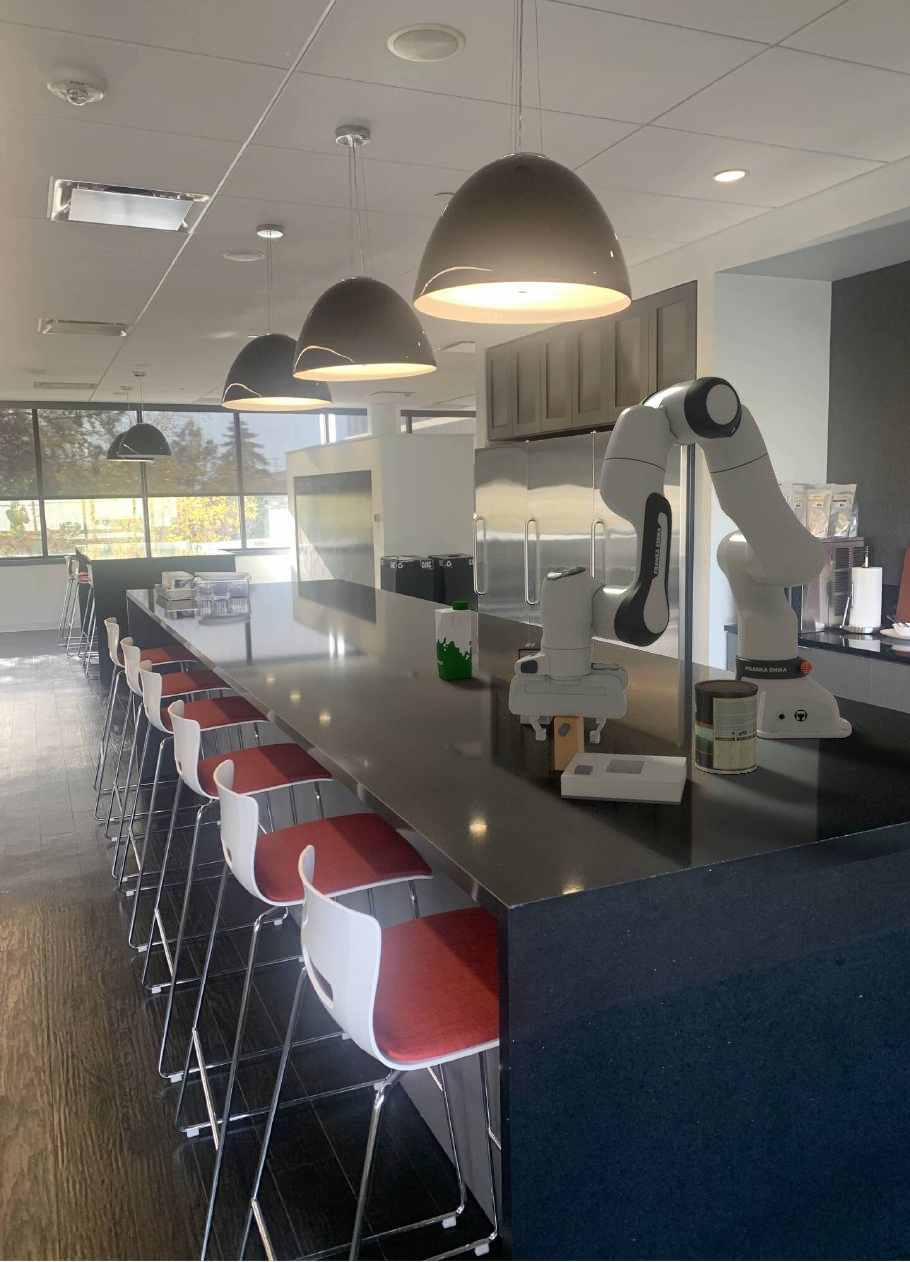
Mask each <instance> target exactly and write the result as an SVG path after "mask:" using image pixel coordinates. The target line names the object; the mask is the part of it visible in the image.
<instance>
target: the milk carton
mask: <svg viewBox="0 0 910 1262" xmlns="http://www.w3.org/2000/svg"><path fill="white" fill-rule="evenodd" d="M434 616H435V639H436V640H435V641H436V643H435V645H436V661H437V662H436V664H437V671H438V676H439V677H441V678H442V679H444V680H445V681H453V680H462V679H471V678H473V648H472V647H473V646H472V645H473V643H472V610H471V609H470V608H469V602H468V600H455V601H452V607H450V608H442V609H434Z"/></svg>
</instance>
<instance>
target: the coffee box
mask: <svg viewBox="0 0 910 1262" xmlns="http://www.w3.org/2000/svg"><path fill="white" fill-rule="evenodd" d="M539 652H541V641H524V642H523V643H522V644H521V645H520V646H519V647H518V648H517V653H518V655H517V656H518V658H517V659H518V660H519V659H521V658H523V657H525V656H528V655H532V654H534V653H539ZM518 660H517V661H518ZM519 719H520V722H519V723H520V724H521V725H531V723H530V721H529V715H520V714H519ZM553 719H554V716H544V715H540V718H539V719H538V720H537V721H538V723H539V724H540V725H550V724H551V722H552V720H553Z"/></svg>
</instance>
